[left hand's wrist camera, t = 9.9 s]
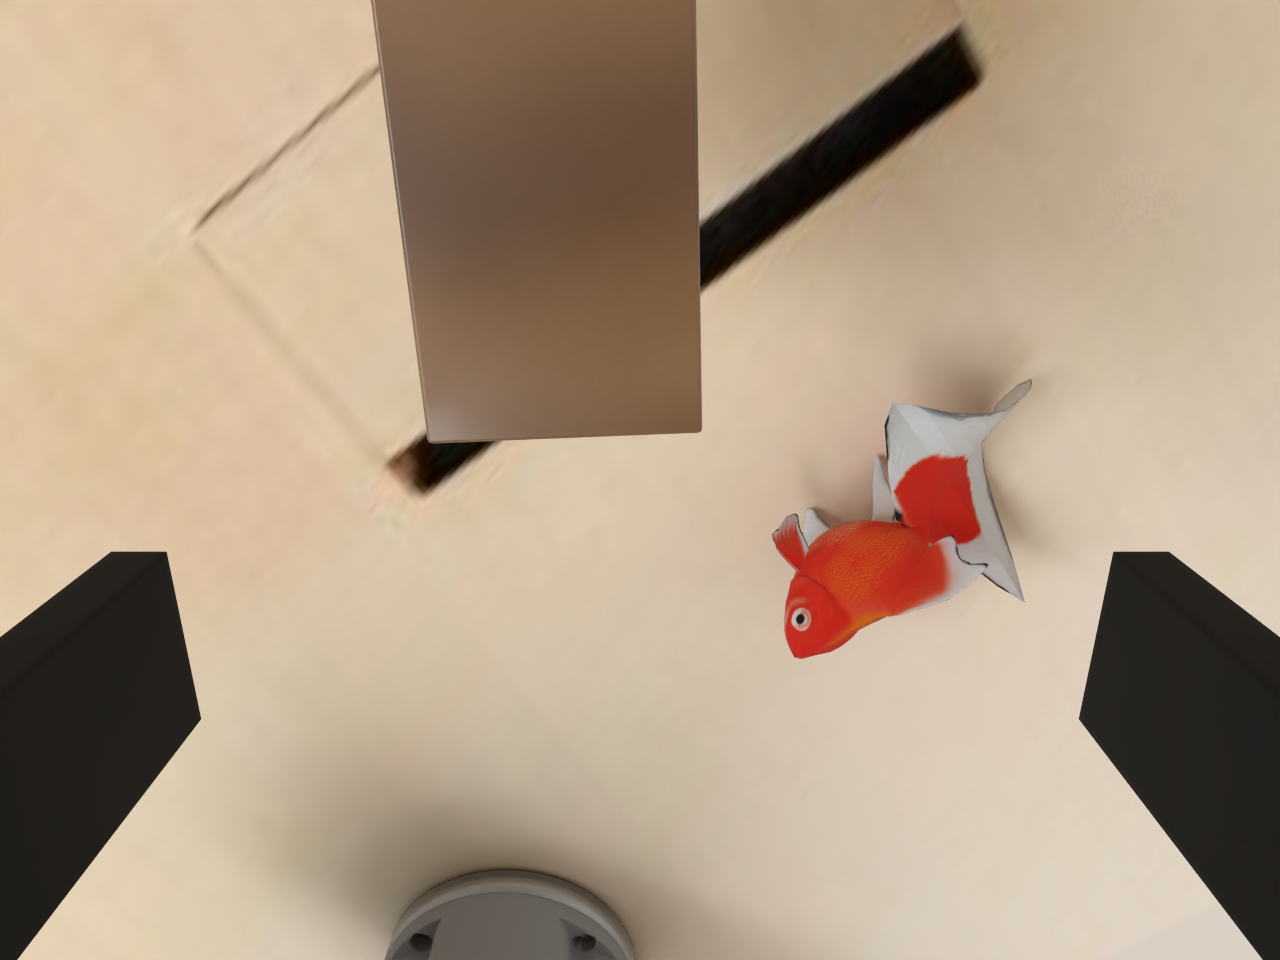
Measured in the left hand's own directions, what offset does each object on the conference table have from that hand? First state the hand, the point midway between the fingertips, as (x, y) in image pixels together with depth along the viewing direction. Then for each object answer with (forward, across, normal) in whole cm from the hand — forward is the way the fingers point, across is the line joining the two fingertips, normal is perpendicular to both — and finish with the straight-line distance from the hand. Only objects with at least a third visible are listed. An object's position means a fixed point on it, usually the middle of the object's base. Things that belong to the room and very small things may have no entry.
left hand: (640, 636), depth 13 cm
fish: (+30, -12, +9) cm, 34 cm away
